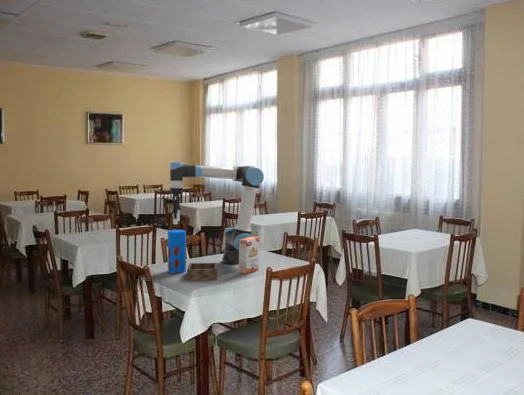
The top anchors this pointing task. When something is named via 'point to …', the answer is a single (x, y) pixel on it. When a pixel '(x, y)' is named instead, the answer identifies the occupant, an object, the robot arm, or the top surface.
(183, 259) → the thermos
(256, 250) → the cracker box
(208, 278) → the open wooden box
